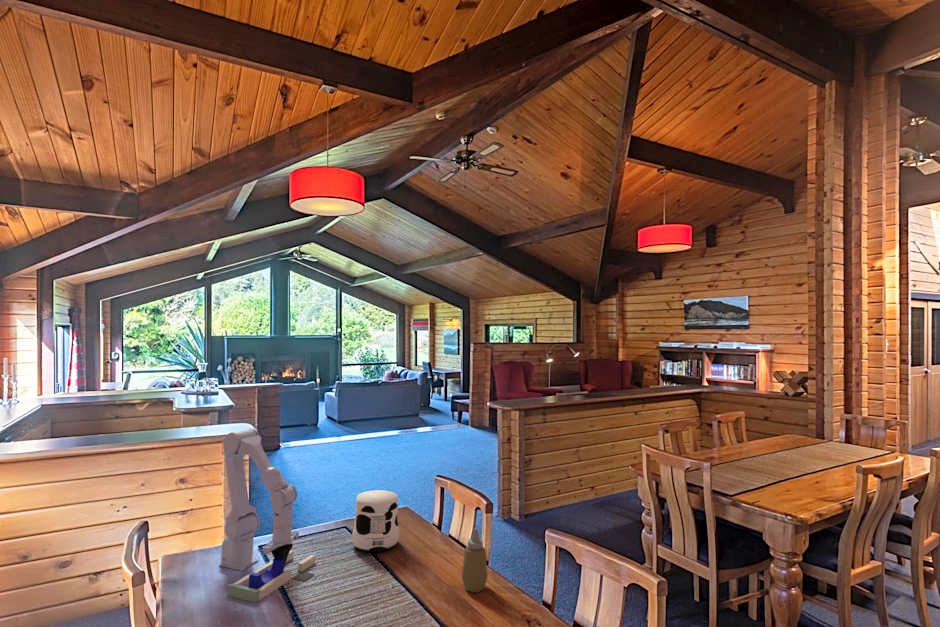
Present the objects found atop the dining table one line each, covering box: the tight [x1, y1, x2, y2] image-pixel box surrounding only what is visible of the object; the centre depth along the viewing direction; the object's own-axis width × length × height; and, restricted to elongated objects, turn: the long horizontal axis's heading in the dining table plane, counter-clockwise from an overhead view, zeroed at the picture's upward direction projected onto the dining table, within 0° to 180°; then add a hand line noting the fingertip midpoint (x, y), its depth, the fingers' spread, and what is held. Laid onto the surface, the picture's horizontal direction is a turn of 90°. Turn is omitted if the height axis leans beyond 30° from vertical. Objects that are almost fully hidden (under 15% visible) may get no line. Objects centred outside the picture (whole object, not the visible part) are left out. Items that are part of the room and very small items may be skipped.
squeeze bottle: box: [461, 528, 488, 593], centre depth 152 cm, size 8×8×18 cm
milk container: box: [351, 489, 400, 552], centre depth 181 cm, size 17×17×18 cm
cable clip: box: [248, 558, 285, 589], centre depth 150 cm, size 12×4×6 cm, turn 164°
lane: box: [226, 549, 316, 603], centre depth 155 cm, size 10×27×3 cm, turn 161°
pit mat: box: [290, 571, 315, 583], centre depth 156 cm, size 5×5×1 cm
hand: (280, 568), depth 157 cm, fingers closed
